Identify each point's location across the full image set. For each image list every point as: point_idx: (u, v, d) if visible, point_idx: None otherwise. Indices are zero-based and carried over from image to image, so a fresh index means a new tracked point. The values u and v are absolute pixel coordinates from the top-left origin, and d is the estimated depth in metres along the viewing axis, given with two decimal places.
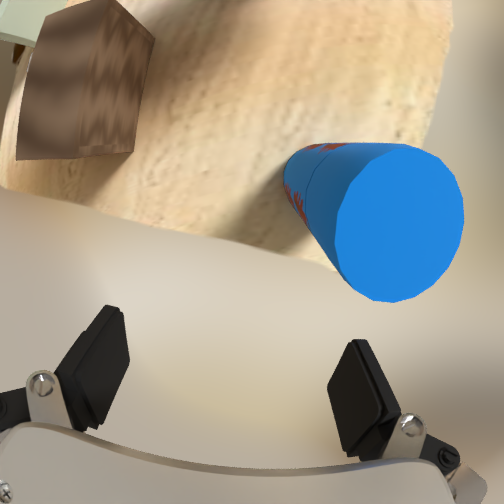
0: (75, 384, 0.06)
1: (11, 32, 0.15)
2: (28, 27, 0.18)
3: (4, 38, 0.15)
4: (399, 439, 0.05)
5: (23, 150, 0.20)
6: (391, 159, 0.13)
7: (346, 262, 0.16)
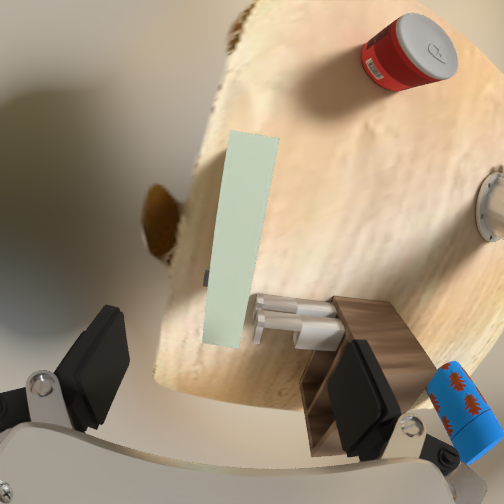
0: (75, 384, 0.06)
1: None
2: None
3: None
4: (399, 439, 0.05)
5: (323, 453, 0.29)
6: (490, 444, 0.22)
7: None
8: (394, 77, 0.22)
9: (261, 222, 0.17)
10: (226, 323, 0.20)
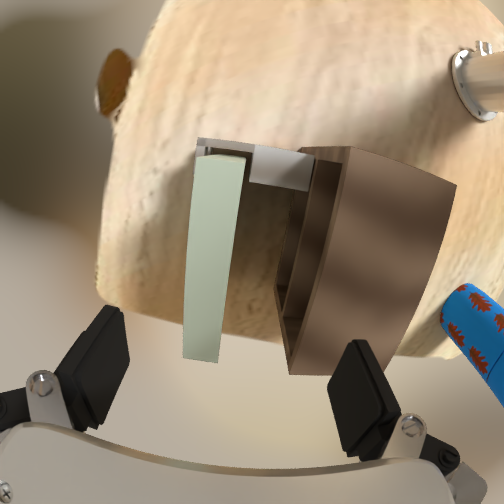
0: (75, 384, 0.06)
1: None
2: None
3: None
4: (399, 439, 0.05)
5: (308, 366, 0.22)
6: None
7: None
8: None
9: (230, 246, 0.18)
10: (203, 339, 0.21)
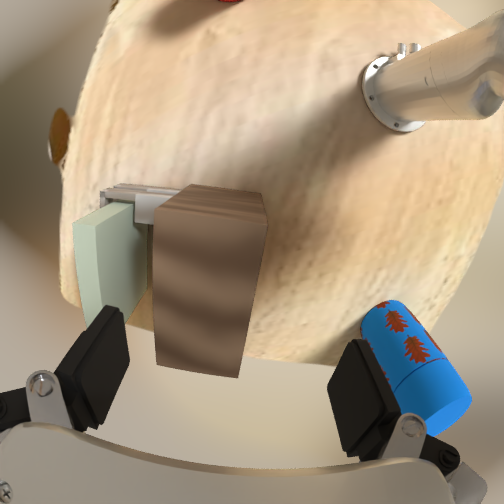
0: (75, 384, 0.06)
1: None
2: (129, 302, 0.35)
3: None
4: (399, 439, 0.05)
5: (167, 360, 0.29)
6: (446, 406, 0.22)
7: None
8: None
9: (97, 275, 0.25)
10: None
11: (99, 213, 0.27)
